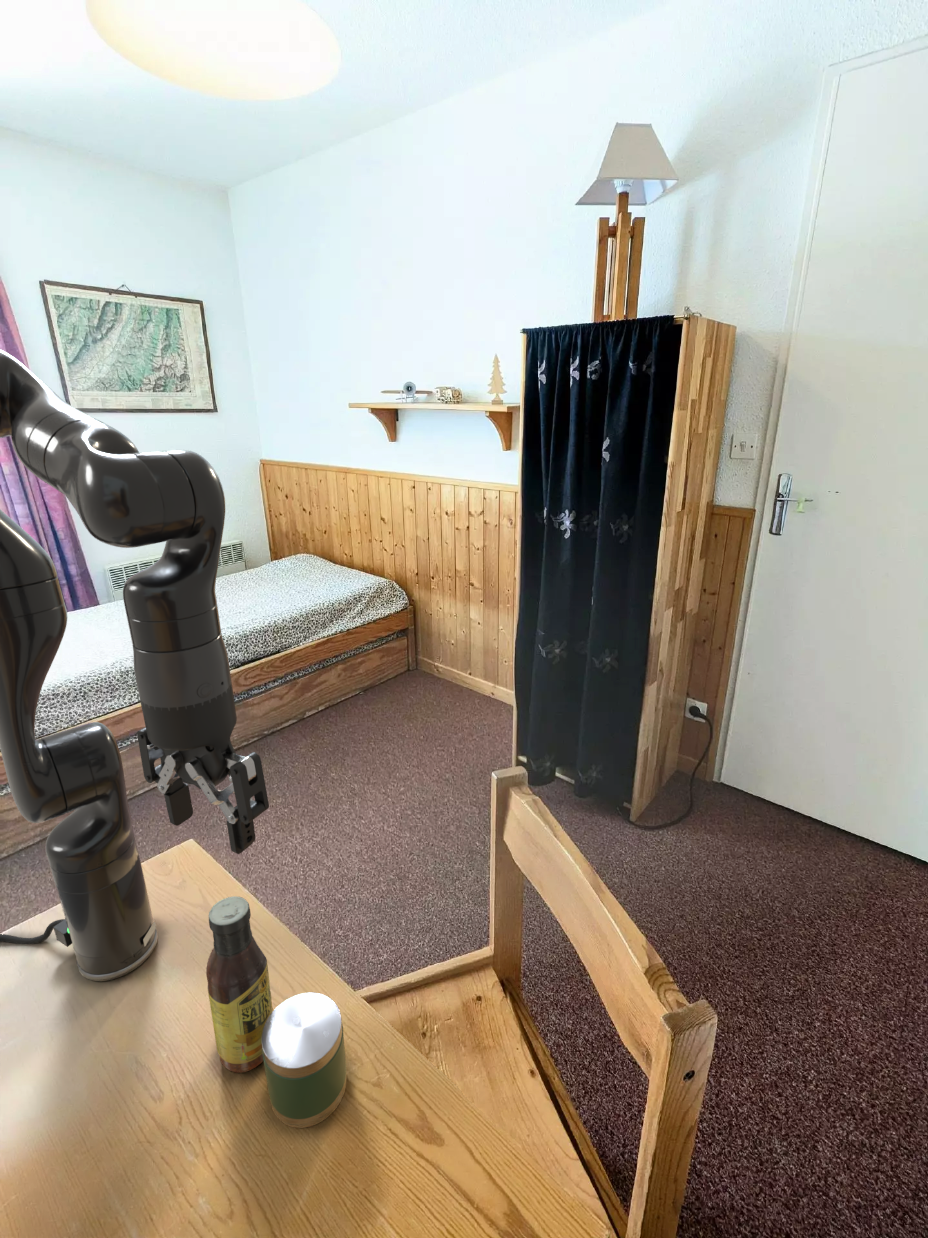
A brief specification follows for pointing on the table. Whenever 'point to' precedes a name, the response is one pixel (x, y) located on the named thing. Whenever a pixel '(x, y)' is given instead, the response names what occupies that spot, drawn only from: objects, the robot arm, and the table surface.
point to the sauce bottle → (237, 986)
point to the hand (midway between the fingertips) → (211, 833)
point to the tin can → (304, 1059)
